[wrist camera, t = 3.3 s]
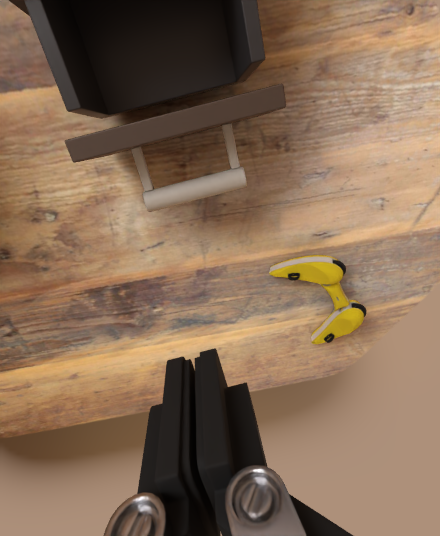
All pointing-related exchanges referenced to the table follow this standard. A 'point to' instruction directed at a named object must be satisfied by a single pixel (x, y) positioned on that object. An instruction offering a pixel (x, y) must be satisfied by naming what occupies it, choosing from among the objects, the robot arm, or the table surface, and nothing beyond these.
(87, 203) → the table surface
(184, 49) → the drawer
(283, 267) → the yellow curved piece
